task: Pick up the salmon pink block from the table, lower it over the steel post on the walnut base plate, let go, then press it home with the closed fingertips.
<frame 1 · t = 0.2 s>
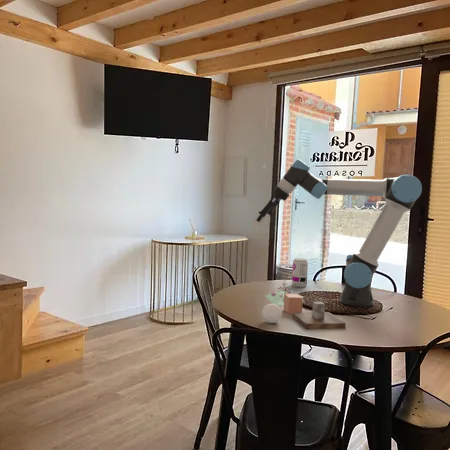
hand: (256, 225, 212), 35 cm above the table, tool tilted 35°, fingers open, 13 cm apart
geometric ball: (271, 323, 176), on the table
salmon pink block: (292, 311, 193), on the table
plant: (285, 301, 215), on the table
supplement can: (299, 286, 248), on the table
post stand: (317, 322, 178), on the table
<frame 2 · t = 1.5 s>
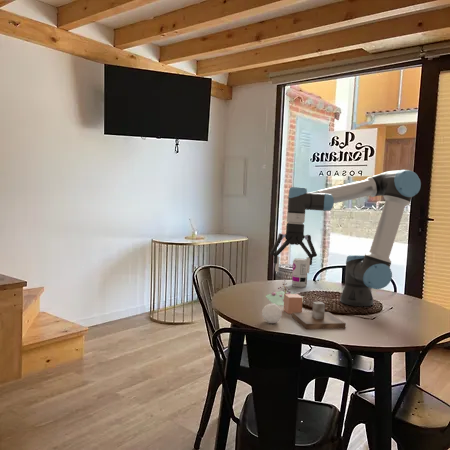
hand: (292, 272, 192), 17 cm above the table, tool pointing down, fingers open, 13 cm apart
nothing on the table moved.
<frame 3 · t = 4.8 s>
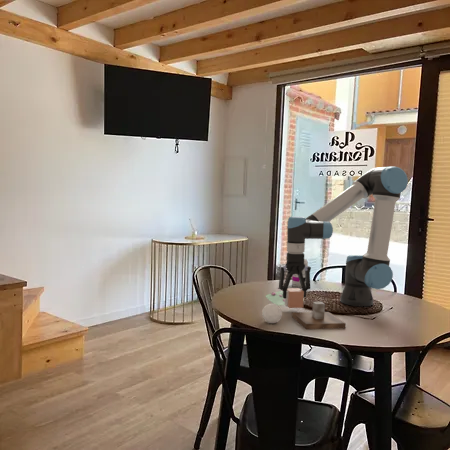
hand: (293, 305, 193), 3 cm above the table, tool pointing down, fingers closed on salmon pink block, 6 cm apart
salmon pink block: (293, 306, 193), point 3 cm above the table, touching gripper
everything else where it was.
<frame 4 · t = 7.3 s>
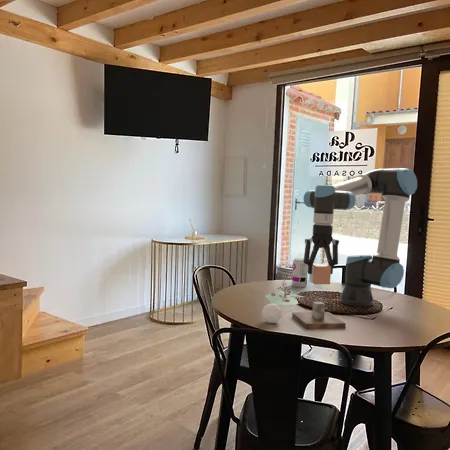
hand: (319, 282, 177), 16 cm above the table, tool pointing down, fingers closed on salmon pink block, 6 cm apart
salmon pink block: (319, 282, 177), point 16 cm above the table, touching gripper
everything else where it was.
when the fingers open (3 cm above the table, at t = 9.8 s): salmon pink block drops 1 cm, resting on post stand.
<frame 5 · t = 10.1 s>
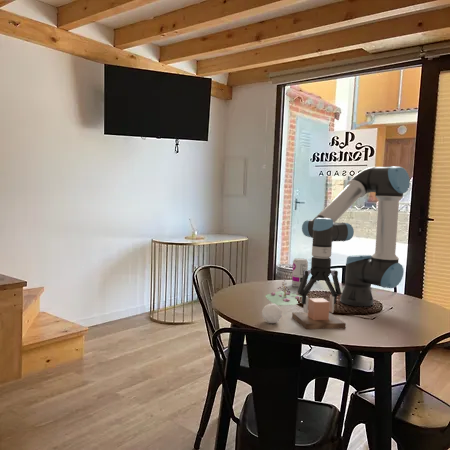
hand: (318, 312, 178), 4 cm above the table, tool pointing down, fingers open, 10 cm apart
salmon pink block: (318, 317, 178), point 2 cm above the table, touching post stand
everything else where it was.
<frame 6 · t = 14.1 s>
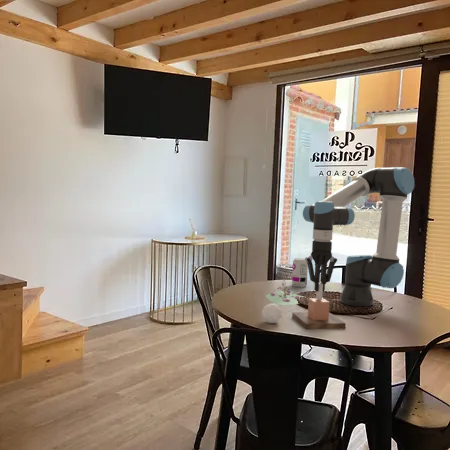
hand: (319, 299, 177), 9 cm above the table, tool pointing down, fingers closed
nothing on the table moved.
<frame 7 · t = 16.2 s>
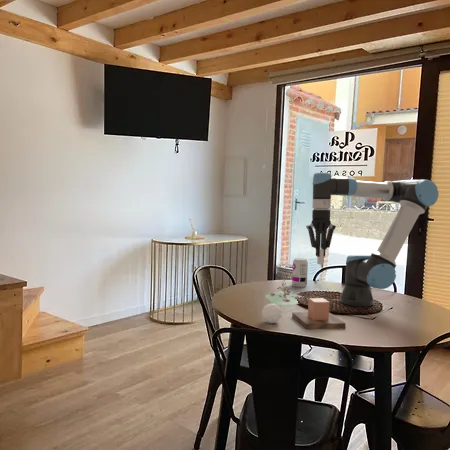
hand: (320, 263, 191), 21 cm above the table, tool pointing down, fingers closed
nothing on the table moved.
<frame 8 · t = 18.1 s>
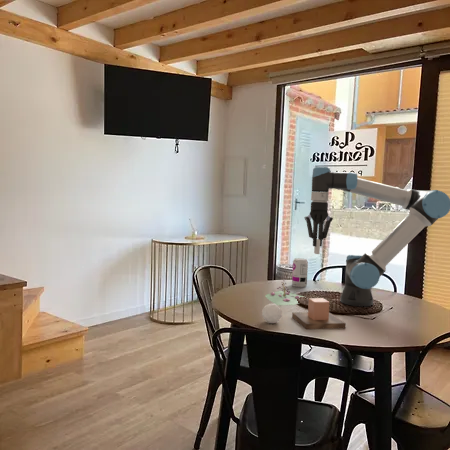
hand: (316, 253, 201), 24 cm above the table, tool pointing down, fingers closed
nothing on the table moved.
at the end: salmon pink block 0.0 cm from the post stand (horizontally); salmon pink block point 2.0 cm above the table; salmon pink block tilted 0° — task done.
